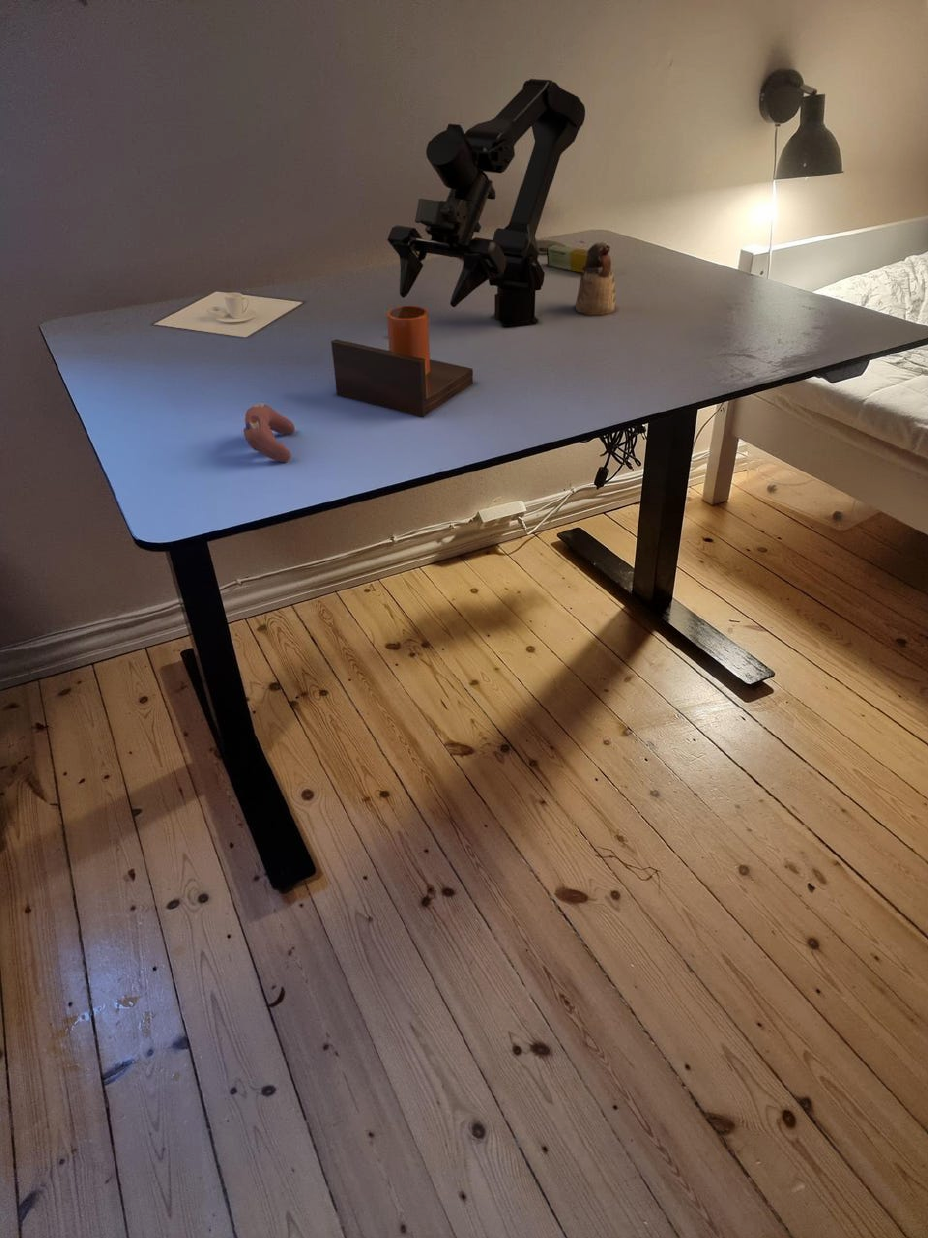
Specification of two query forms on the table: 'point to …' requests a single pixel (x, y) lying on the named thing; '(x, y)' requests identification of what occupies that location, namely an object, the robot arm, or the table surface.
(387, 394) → the dark brown wooden piece
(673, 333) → the table surface
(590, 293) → the figurine
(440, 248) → the robot arm
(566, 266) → the medication box
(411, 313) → the cup
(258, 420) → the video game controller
